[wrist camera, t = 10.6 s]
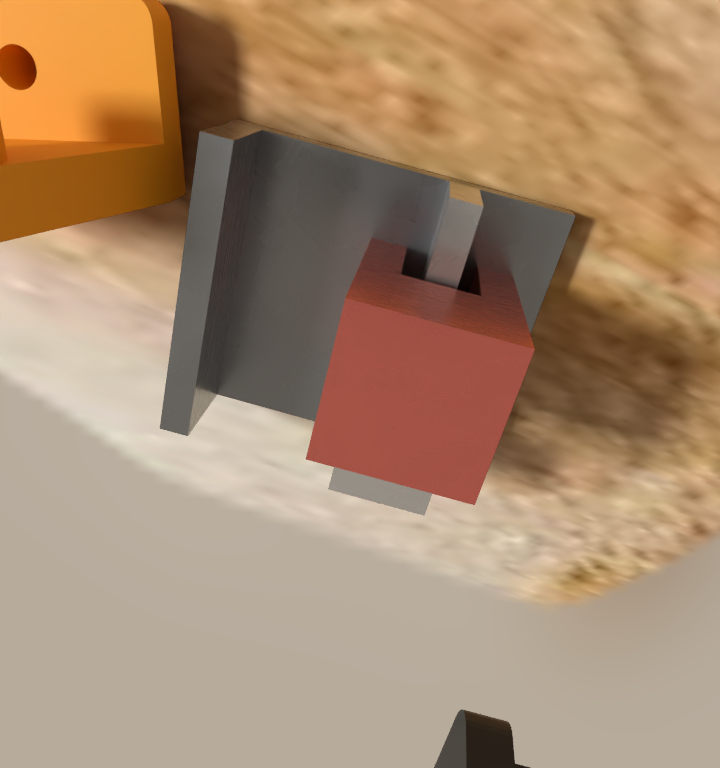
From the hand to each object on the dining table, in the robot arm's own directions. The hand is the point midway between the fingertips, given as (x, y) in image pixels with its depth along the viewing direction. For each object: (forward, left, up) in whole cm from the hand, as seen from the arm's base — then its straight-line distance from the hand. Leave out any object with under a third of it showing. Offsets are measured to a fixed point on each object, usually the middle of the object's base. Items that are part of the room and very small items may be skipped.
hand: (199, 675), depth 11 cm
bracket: (-4, -14, -22) cm, 26 cm away
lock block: (+1, +3, -21) cm, 21 cm away
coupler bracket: (+1, +1, -22) cm, 22 cm away
